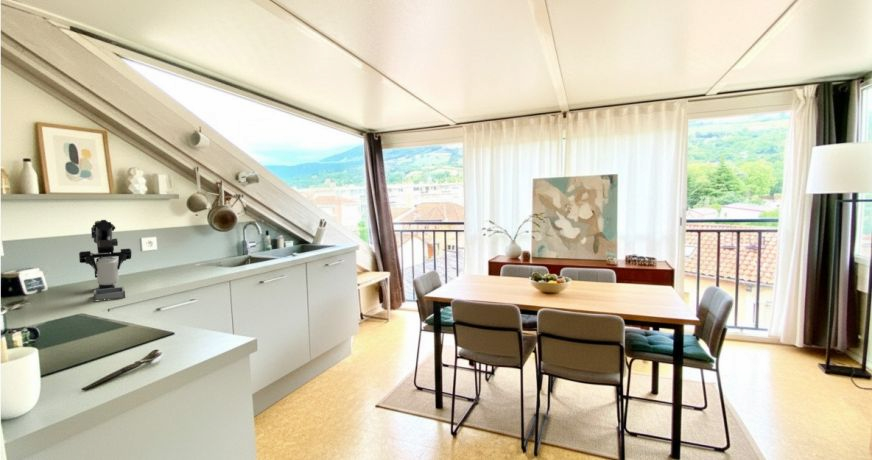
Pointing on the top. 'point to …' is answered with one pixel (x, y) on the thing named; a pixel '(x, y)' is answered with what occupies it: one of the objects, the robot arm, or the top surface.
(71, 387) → the top surface
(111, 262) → the can
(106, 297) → the tray
